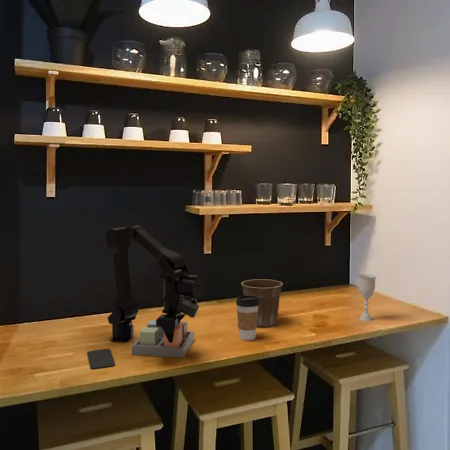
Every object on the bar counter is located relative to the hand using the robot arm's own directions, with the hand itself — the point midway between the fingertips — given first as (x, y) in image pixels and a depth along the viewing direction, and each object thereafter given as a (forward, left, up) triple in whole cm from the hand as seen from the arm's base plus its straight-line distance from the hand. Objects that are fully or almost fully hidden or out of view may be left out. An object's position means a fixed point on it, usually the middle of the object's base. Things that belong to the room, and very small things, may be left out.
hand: (172, 339), depth 151 cm
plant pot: (+27, +35, -4) cm, 45 cm away
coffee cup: (+23, +17, -4) cm, 29 cm away
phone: (-21, -10, -5) cm, 23 cm away
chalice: (+69, +46, -4) cm, 83 cm away
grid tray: (-4, +4, -4) cm, 7 cm away
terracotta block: (0, 0, -2) cm, 2 cm away
